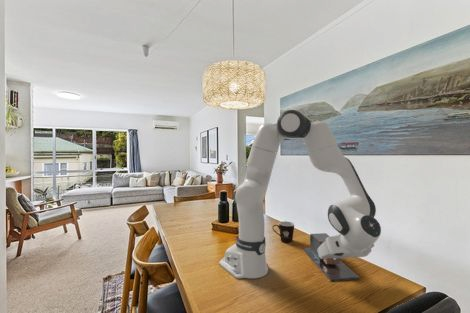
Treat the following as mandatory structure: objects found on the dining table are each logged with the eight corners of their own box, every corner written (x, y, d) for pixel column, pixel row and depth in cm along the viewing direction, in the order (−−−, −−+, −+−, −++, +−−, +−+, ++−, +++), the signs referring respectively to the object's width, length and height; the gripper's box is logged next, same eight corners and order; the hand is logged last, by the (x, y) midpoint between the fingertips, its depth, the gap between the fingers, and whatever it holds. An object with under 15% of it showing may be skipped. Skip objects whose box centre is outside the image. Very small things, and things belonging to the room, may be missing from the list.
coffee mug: (297, 240, 130) (297, 223, 130) (289, 245, 124) (289, 227, 124) (279, 235, 138) (279, 219, 138) (271, 239, 132) (271, 222, 132)
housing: (359, 279, 91) (359, 254, 91) (330, 280, 90) (330, 255, 90) (325, 249, 119) (325, 230, 119) (303, 250, 118) (303, 231, 118)
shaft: (339, 263, 100) (340, 243, 100) (326, 264, 99) (326, 243, 99) (321, 247, 117) (321, 229, 117) (310, 247, 116) (310, 230, 116)
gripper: (372, 235, 90) (356, 249, 100) (322, 237, 88) (311, 251, 98) (380, 251, 86) (363, 264, 96) (328, 254, 84) (316, 266, 94)
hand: (336, 257), depth 97 cm, fingers closed
